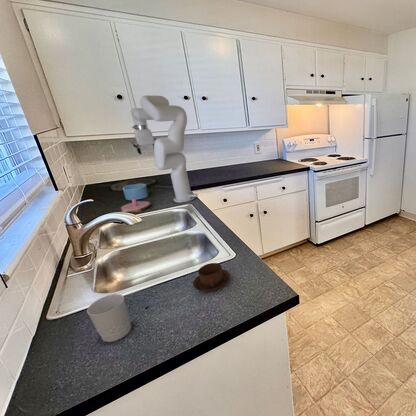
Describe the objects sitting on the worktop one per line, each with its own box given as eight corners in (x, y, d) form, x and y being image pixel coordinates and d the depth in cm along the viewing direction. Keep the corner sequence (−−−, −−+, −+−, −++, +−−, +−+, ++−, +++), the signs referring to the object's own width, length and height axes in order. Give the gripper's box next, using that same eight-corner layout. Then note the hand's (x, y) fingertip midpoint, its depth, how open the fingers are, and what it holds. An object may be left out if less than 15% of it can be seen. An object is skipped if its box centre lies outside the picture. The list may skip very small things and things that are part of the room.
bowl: (150, 192, 195) (147, 182, 192) (147, 198, 183) (144, 187, 181) (127, 195, 190) (124, 185, 187) (123, 201, 178) (120, 190, 175)
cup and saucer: (236, 283, 95) (234, 268, 92) (202, 299, 87) (198, 284, 85) (221, 269, 103) (219, 255, 100) (189, 283, 95) (185, 268, 93)
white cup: (91, 342, 72) (78, 313, 68) (117, 320, 79) (106, 292, 75) (117, 345, 71) (105, 316, 67) (140, 323, 78) (131, 295, 74)
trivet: (150, 205, 171) (150, 203, 170) (141, 211, 160) (140, 210, 160) (132, 205, 170) (132, 204, 170) (121, 212, 160) (121, 210, 159)
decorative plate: (119, 180, 222) (160, 177, 230) (120, 182, 223) (160, 179, 230) (102, 191, 195) (148, 187, 203) (103, 193, 196) (149, 189, 203)
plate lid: (151, 201, 174) (149, 193, 172) (148, 209, 161) (145, 200, 159) (124, 205, 168) (121, 196, 166) (118, 213, 156) (115, 204, 154)
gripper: (128, 128, 173) (135, 155, 180) (157, 127, 185) (163, 151, 192) (125, 128, 178) (132, 154, 184) (153, 126, 190) (159, 150, 196)
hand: (148, 152), depth 188 cm, fingers open, 9 cm apart
